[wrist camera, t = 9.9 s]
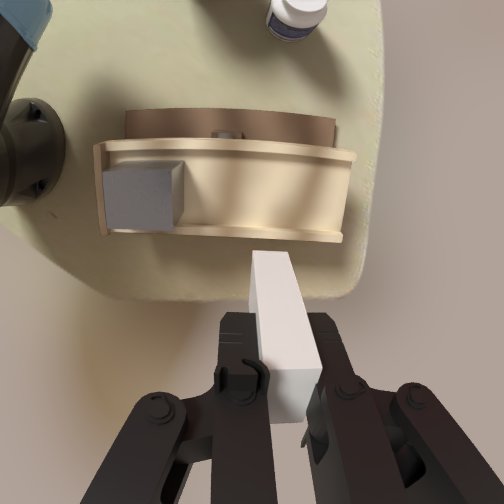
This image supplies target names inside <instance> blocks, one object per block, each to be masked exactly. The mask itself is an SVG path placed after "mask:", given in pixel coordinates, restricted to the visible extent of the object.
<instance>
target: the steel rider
mask: <svg viewBox="0 0 504 504" xmlns="http://www.w3.org/2000/svg"><path fill="white" fill-rule="evenodd" d="M102 177H103V191H104V202H105V212H106V221H107V229H129V230H158V231H173V230H174V229H175V227H176V225H177V223H178V221H179V220H180V218H181V216H182V214H183V213H184V160H139V161H123V162H121V163H119V164H117V165H115V166H113V167H111V168H109V169H107V170H105V171H103V172H102Z"/></svg>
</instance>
